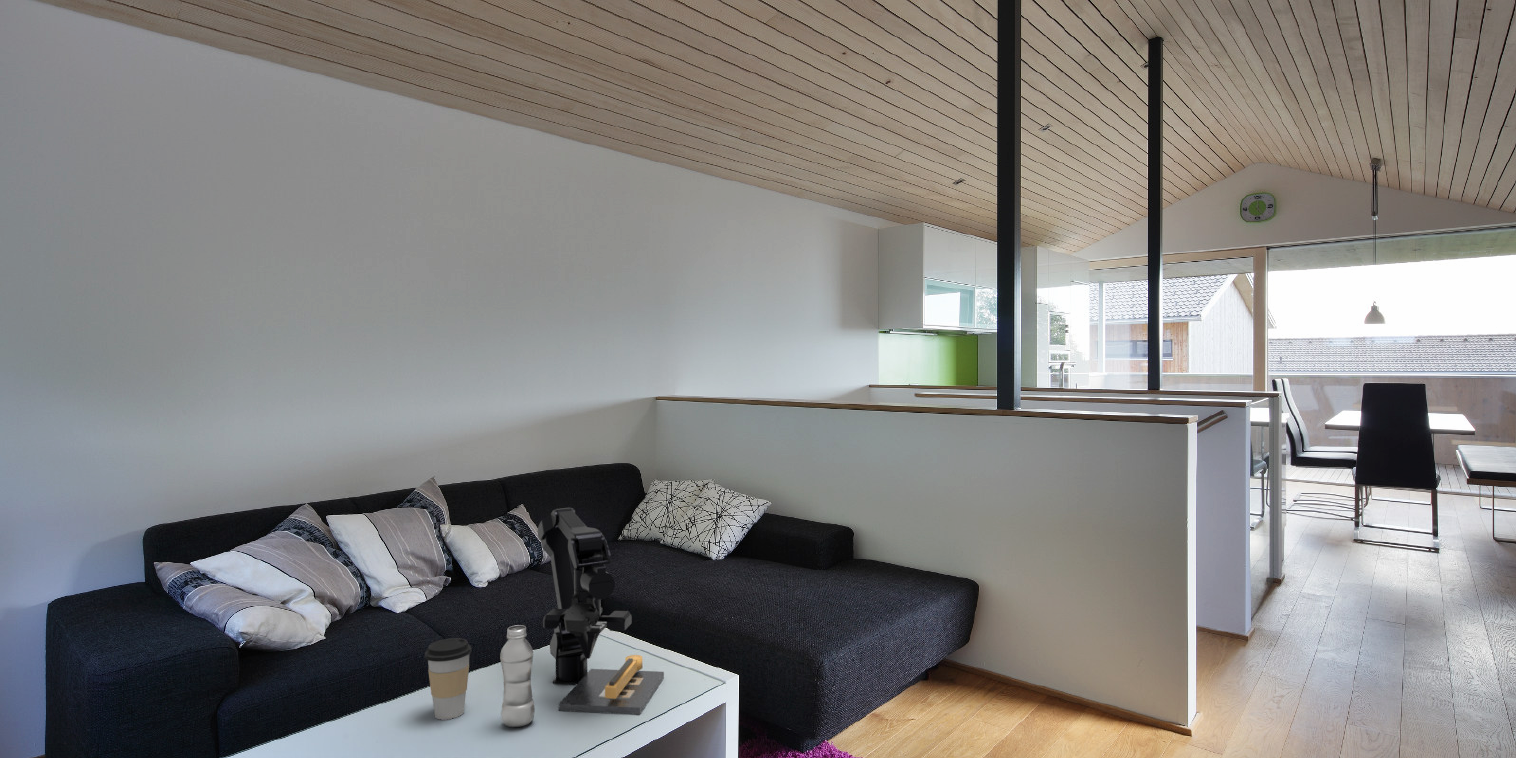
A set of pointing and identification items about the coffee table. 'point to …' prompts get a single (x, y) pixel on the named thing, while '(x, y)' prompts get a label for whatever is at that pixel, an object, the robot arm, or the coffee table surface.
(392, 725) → the coffee table surface
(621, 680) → the bar
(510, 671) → the plastic bottle
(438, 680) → the coffee cup
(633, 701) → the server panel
